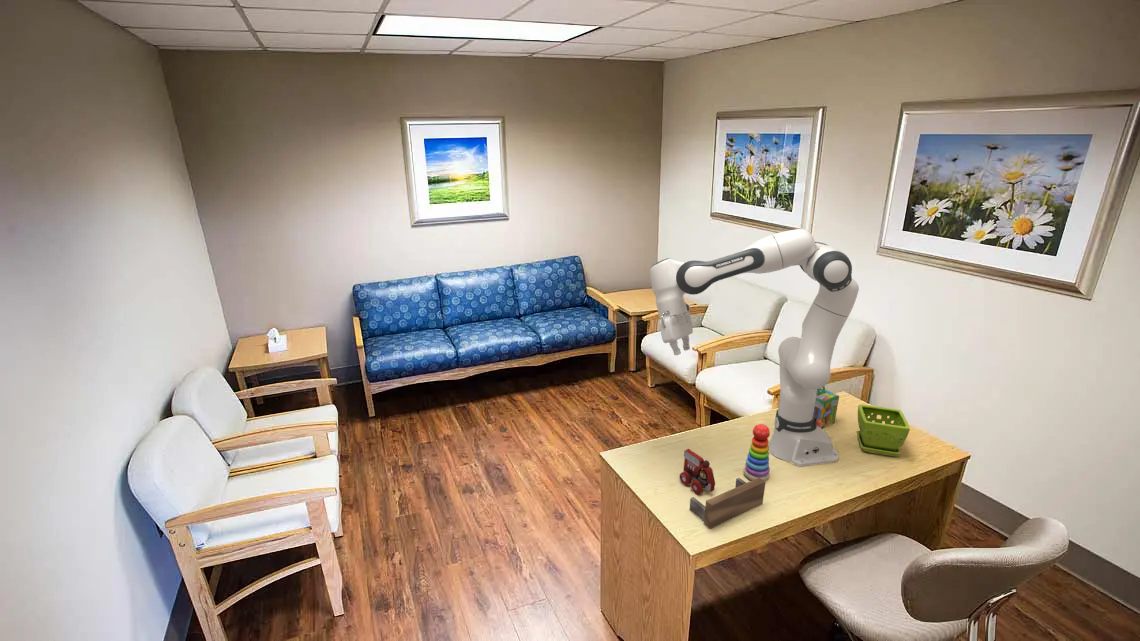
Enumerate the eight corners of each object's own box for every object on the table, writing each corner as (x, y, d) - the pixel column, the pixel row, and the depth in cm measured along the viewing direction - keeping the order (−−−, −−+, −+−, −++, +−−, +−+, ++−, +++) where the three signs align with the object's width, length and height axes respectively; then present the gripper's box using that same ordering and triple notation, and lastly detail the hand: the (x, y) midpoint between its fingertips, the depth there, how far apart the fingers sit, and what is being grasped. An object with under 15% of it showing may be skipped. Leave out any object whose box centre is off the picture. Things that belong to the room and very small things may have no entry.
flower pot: (903, 461, 184) (911, 428, 179) (857, 454, 188) (863, 421, 184) (894, 440, 196) (901, 408, 192) (851, 433, 200) (857, 402, 196)
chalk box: (821, 429, 203) (827, 394, 198) (799, 419, 210) (804, 384, 205) (835, 422, 208) (842, 387, 203) (814, 412, 215) (819, 378, 210)
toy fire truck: (703, 500, 166) (706, 471, 163) (675, 479, 176) (677, 451, 172) (719, 492, 170) (722, 463, 166) (691, 472, 179) (693, 444, 176)
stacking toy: (740, 468, 181) (746, 417, 175) (764, 468, 181) (771, 418, 175) (746, 482, 174) (753, 431, 167) (772, 483, 174) (779, 431, 167)
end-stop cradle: (687, 510, 162) (689, 487, 159) (739, 487, 172) (741, 465, 169) (709, 529, 154) (712, 505, 151) (762, 504, 164) (765, 481, 161)
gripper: (670, 311, 165) (681, 356, 165) (691, 305, 182) (701, 345, 182) (651, 315, 168) (662, 359, 168) (673, 309, 186) (683, 349, 185)
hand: (682, 352), depth 175 cm, fingers open, 8 cm apart
